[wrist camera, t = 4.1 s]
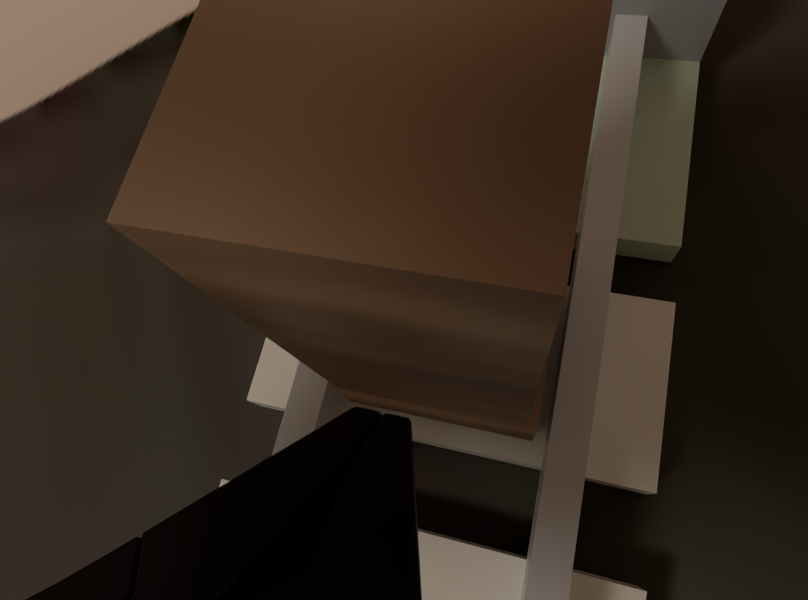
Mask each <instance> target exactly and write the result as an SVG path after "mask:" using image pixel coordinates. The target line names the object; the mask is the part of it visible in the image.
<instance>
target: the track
mask: <svg viewBox="0 0 808 600" xmlns="http://www.w3.org/2000/svg"><path fill="white" fill-rule="evenodd" d="M726 2H727V0H613V3H612V9H611V16H610V22H609V28H608V34H607V41H606V47H605V53H604V59H603V66H602V72H601V78H600V84H599V91H598V97H597V103H596V109H595V116H594V122H593V128H592V134H591V141H590V147H589V153H588V159H587V166H586V172H585V178H584V184H583V191H582V197H581V203H580V209H579V216H578V222H577V228H576V234H575V241H574V247H573V249H576V251H575V258H574V264H573V270H572V277H571V283H570V286H567V291H566V297H565V300H564V303H563V307H562V310H561V314H560V317H559V320H558V324H557V327H556V331H555V334H554V337H553V341H552V344H551V348H550V354H549V360H548V366H547V372H546V378H545V384H544V390H543V397H542V403H541V409H540V415H539V421H538V427H537V431H536V434H535V436H534V438H533V441H529V440H525V439H520V438H515V437H511V436H506V435H502V434H497V433H493V432H488V431H484V430H479V429H474V428H470V427H465V426H461V425H456V424H452V423H447V422H442V421H438V420H433V419H429V418H424V417H420V416H415V415H410V414H406V413H401V412H397V411H392V410H388V409H383V408H378V407H374V406H369V405H365V404H360V403H356V402H351V401H349V400H348V399H347V398H345V397H344V396H342V395H341V394H339V393H338V392H336V391H335V390H334V389H332V388H331V387H329V386H328V383H329V382H328V381H327V380H326V379H324V378H323V377H321V376H320V375H319V374H317V373H316V372H314V371H313V370H312V369H310V368H309V367H307V366H306V365H305V364H303V363H302V362H300V361H299V360H298V359H296V358H295V357H294V356H292V355H291V354H289V353H288V352H287V351H285V350H284V349H282V348H281V347H280V346H278V345H277V344H275V343H274V342H273V341H271V340H270V339H268V338H267V337H266V340H265V343H264V346H263V349H262V352H261V356H260V359H259V362H258V365H257V368H256V372H255V375H254V378H253V381H252V384H251V387H250V391H249V394H248V397H247V400H248V401H250V402H252V403H255V404H257V405H260V406H262V407H267V408H271V409H276V410H280V411H284V415H283V419H282V422H281V425H280V429H279V432H278V436H277V439H276V443H275V446H274V449H273V453H272V455H274V454H276V453H277V452H279V451H281V450H282V449H284V448H286V447H287V446H289V445H291V444H292V443H294V442H296V441H297V440H299V439H301V438H302V437H304V436H306V435H307V434H309V433H311V432H312V431H314V430H316V429H317V428H319V427H321V426H322V425H324V424H326V423H327V422H329V421H331V420H332V419H334V418H336V417H337V416H339V415H341V414H342V413H344V412H346V411H347V410H349V409H351V408H353V407H362V408H367V409H371V410H376V411H379V412H380V413H381V414H382V415H383V414H385V413H389V414H394V415H399V416H403V417H407V418H409V419H410V420H411V424H412V439H413V441H415V442H419V443H424V444H428V445H433V446H437V447H441V448H446V449H450V450H454V451H459V452H463V453H467V454H472V455H476V456H481V457H485V458H489V459H494V460H498V461H502V462H507V463H511V464H515V465H520V466H524V467H528V468H533V469H537V470H541V472H540V478H539V485H538V491H537V497H536V504H535V510H534V516H533V523H532V529H531V535H530V542H529V548H528V554H527V557H526V556H523V555H519V554H515V553H511V552H507V551H504V550H500V549H496V548H492V547H488V546H485V545H481V544H477V543H473V542H469V541H466V540H462V539H458V538H454V537H450V536H447V535H443V534H439V533H435V532H431V531H428V530H424V529H420V528H418V541H419V558H420V575H421V592H422V600H646V595H647V591H645V590H643V589H642V588H640V587H638V586H636V585H633V584H629V583H625V582H621V581H617V580H614V579H610V578H606V577H602V576H598V575H595V574H591V573H587V572H583V571H579V570H576V569H573V563H574V555H575V548H576V541H577V533H578V526H579V519H580V511H581V504H582V497H583V489H584V482H585V481H590V482H594V483H598V484H603V485H607V486H611V487H616V488H620V489H624V490H629V491H633V492H637V493H642V494H646V495H647V494H657V486H658V476H659V466H660V456H661V446H662V436H663V426H664V416H665V406H666V396H667V386H668V376H669V366H670V356H671V346H672V336H673V326H674V316H675V306H676V303H674V302H667V301H661V300H655V299H648V298H642V297H636V296H629V295H623V294H617V293H610V291H611V284H612V276H613V269H614V262H615V255H622V256H629V257H636V258H642V259H649V260H656V261H663V262H670V263H671V261H672V260H673V258H674V257H675V256H676V254H677V253H678V251H679V250H680V248H681V246H682V236H683V226H684V216H685V206H686V196H687V186H688V176H689V166H690V156H691V146H692V136H693V126H694V116H695V106H696V96H697V86H698V76H699V66H700V61H701V58H702V56H703V54H704V52H705V49H706V47H707V45H708V43H709V40H710V38H711V36H712V33H713V31H714V29H715V27H716V24H717V22H718V20H719V18H720V15H721V13H722V11H723V9H724V6H725V4H726ZM229 481H231V480H226V479H222V480H221V483H220V486H219V487H221V486H222V485H224V484H226V483H227V482H229Z"/></svg>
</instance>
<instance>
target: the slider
mask: <svg viewBox="0 0 808 600" xmlns="http://www.w3.org/2000/svg"><path fill="white" fill-rule="evenodd" d="M612 3H613V0H200V2H199V5H198V7H197V9H196V12H195V14H194V16H193V19H192V21H191V24H190V26H189V28H188V31H187V33H186V35H185V38H184V40H183V42H182V45H181V47H180V49H179V52H178V54H177V56H176V59H175V61H174V63H173V66H172V68H171V71H170V73H169V75H168V78H167V80H166V82H165V85H164V87H163V89H162V92H161V94H160V96H159V99H158V101H157V103H156V106H155V108H154V111H153V113H152V115H151V118H150V120H149V122H148V125H147V127H146V129H145V132H144V134H143V136H142V139H141V141H140V143H139V146H138V148H137V151H136V153H135V155H134V158H133V160H132V162H131V165H130V167H129V169H128V172H127V174H126V176H125V179H124V181H123V183H122V186H121V188H120V191H119V193H118V195H117V198H116V200H115V202H114V205H113V207H112V209H111V212H110V214H109V216H108V219H107V221H106V222H107V223H108V224H110V225H111V226H112V227H114V228H115V229H117V230H118V231H119V232H121V233H122V234H124V235H125V236H126V237H128V238H129V239H130V240H132V241H133V242H135V243H136V244H137V245H139V246H140V247H142V248H143V249H144V250H146V251H147V252H149V253H150V254H151V255H153V256H154V257H156V258H157V259H158V260H160V261H161V262H163V263H164V264H165V265H167V266H168V267H169V268H171V269H172V270H174V271H175V272H176V273H178V274H179V275H181V276H182V277H183V278H185V279H186V280H188V281H189V282H190V283H192V284H193V285H195V286H196V287H197V288H199V289H200V290H202V291H203V292H204V293H206V294H207V295H209V296H210V297H211V298H213V299H214V300H215V301H217V302H218V303H220V304H221V305H222V306H224V307H225V308H227V309H228V310H229V311H231V312H232V313H234V314H235V315H236V316H238V317H239V318H241V319H242V320H243V321H245V322H246V323H248V324H249V325H250V326H252V327H253V328H254V329H256V330H257V331H259V332H260V333H261V334H263V335H264V336H266V337H267V338H268V339H270V340H271V341H273V342H274V343H275V344H277V345H278V346H280V347H281V348H282V349H284V350H285V351H287V352H288V353H289V354H291V355H292V356H294V357H295V358H296V359H298V360H299V361H300V362H302V363H303V364H305V365H306V366H307V367H309V368H310V369H312V370H313V371H314V372H316V373H317V374H319V375H320V376H321V377H323V378H324V379H326V380H327V381H328V382H329V383H328V386H329V387H331V388H332V389H334V390H335V391H336V392H338V393H339V394H341V395H342V396H344V397H345V398H347V399H348V400H349V401H351V402H356V403H360V404H365V405H369V406H374V407H378V408H383V409H388V410H392V411H397V412H401V413H406V414H410V415H415V416H420V417H424V418H429V419H433V420H438V421H442V422H447V423H452V424H456V425H461V426H465V427H470V428H474V429H479V430H484V431H488V432H493V433H497V434H502V435H506V436H511V437H515V438H520V439H525V440H529V441H533V438H534V436H535V434H536V431H537V427H538V421H539V415H540V409H541V403H542V397H543V390H544V384H545V378H546V372H547V366H548V360H549V354H550V348H551V344H552V341H553V337H554V334H555V331H556V327H557V324H558V320H559V317H560V314H561V310H562V307H563V303H564V300H565V297H566V291H567V284H568V278H569V272H570V266H571V259H572V253H573V247H574V241H575V234H576V228H577V222H578V216H579V209H580V203H581V197H582V191H583V184H584V178H585V172H586V166H587V159H588V153H589V147H590V141H591V134H592V128H593V122H594V116H595V109H596V103H597V97H598V91H599V84H600V78H601V72H602V66H603V59H604V53H605V47H606V41H607V34H608V28H609V22H610V16H611V9H612Z"/></svg>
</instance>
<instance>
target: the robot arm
mask: <svg viewBox="0 0 808 600" xmlns="http://www.w3.org/2000/svg"><path fill="white" fill-rule="evenodd" d="M26 600H422V592H421V575H420V558H419V541H418V524H417V507H416V490H415V473H414V456H413V439H412V424H411V420H410V419H409V418H407V417H403V416H399V415H394V414H389V413H385V414H383V415H382V414H381V413H380V412H379V411H376V410H371V409H367V408H362V407H353V408H351V409H349V410H347V411H346V412H344V413H342V414H341V415H339V416H337V417H336V418H334V419H332V420H331V421H329V422H327V423H326V424H324V425H322V426H321V427H319V428H317V429H316V430H314V431H312V432H311V433H309V434H307V435H306V436H304V437H302V438H301V439H299V440H297V441H296V442H294V443H292V444H291V445H289V446H287V447H286V448H284V449H282V450H281V451H279V452H277V453H276V454H274V455H272V456H271V457H269V458H267V459H266V460H264V461H262V462H261V463H259V464H257V465H256V466H254V467H252V468H251V469H249V470H247V471H246V472H244V473H242V474H241V475H239V476H237V477H236V478H234V479H232V480H231V481H229V482H227V483H226V484H224V485H222V486H221V487H219V488H217V489H216V490H214V491H212V492H211V493H209V494H207V495H206V496H204V497H202V498H201V499H199V500H197V501H196V502H194V503H192V504H191V505H189V506H187V507H186V508H184V509H182V510H181V511H179V512H177V513H176V514H174V515H172V516H171V517H169V518H167V519H166V520H164V521H162V522H161V523H159V524H157V525H156V526H154V527H152V528H151V529H149V530H147V531H146V532H144V533H143V535H142V539H141V538H140V537H135V538H134V539H132V540H130V541H129V542H127V543H125V544H124V545H122V546H120V547H119V548H117V549H115V550H114V551H112V552H110V553H109V554H107V555H105V556H103V557H102V558H100V559H98V560H96V561H95V562H93V563H91V564H89V565H88V566H86V567H84V568H82V569H81V570H79V571H77V572H76V573H74V574H72V575H70V576H69V577H67V578H65V579H63V580H62V581H60V582H58V583H56V584H54V585H52V586H50V587H48V588H46V589H45V590H43V591H41V592H39V593H37V594H35V595H33V596H31V597H29V598H27V599H26Z"/></svg>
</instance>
